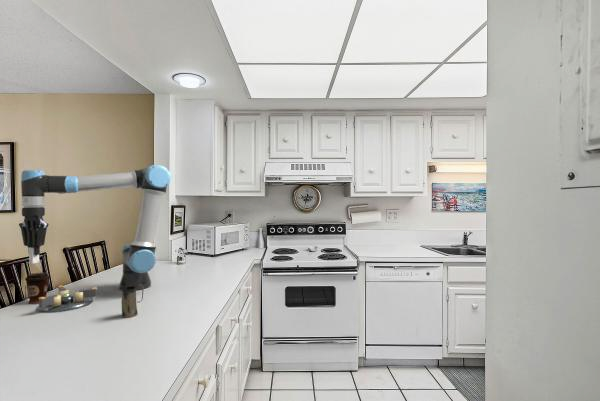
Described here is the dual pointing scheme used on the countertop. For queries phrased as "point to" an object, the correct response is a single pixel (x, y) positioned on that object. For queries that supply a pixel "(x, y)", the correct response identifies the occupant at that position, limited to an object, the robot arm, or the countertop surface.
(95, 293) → the knob
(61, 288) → the knob
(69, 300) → the candle tray
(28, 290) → the coffee cup
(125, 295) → the mug
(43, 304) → the knob
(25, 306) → the countertop surface
